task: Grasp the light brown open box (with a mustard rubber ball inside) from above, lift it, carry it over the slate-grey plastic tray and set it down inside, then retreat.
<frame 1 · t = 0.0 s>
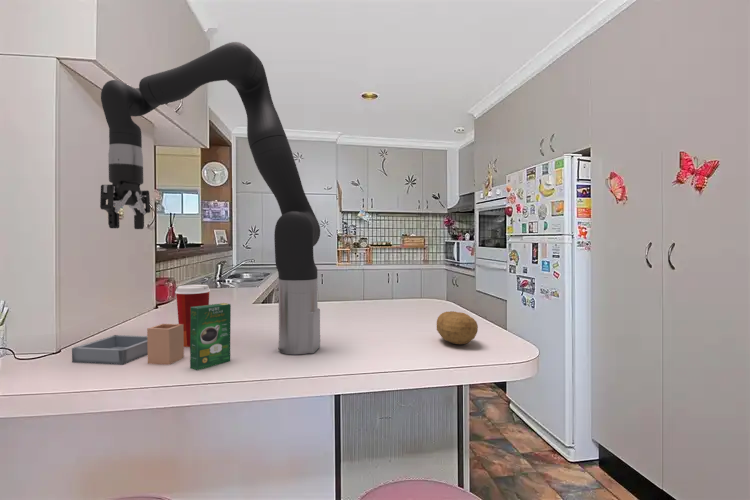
hand: (127, 228, 104), 29 cm above the countertop, tool pointing down, fingers open, 8 cm apart
coffee cup: (193, 346, 103), on the countertop
potato: (455, 343, 106), on the countertop
mustard ball: (166, 360, 89), point 1 cm above the countertop, touching light brown open box
light brown open box: (166, 363, 89), on the countertop, touching mustard ball
tray: (118, 357, 93), on the countertop
coffee box: (211, 367, 86), on the countertop
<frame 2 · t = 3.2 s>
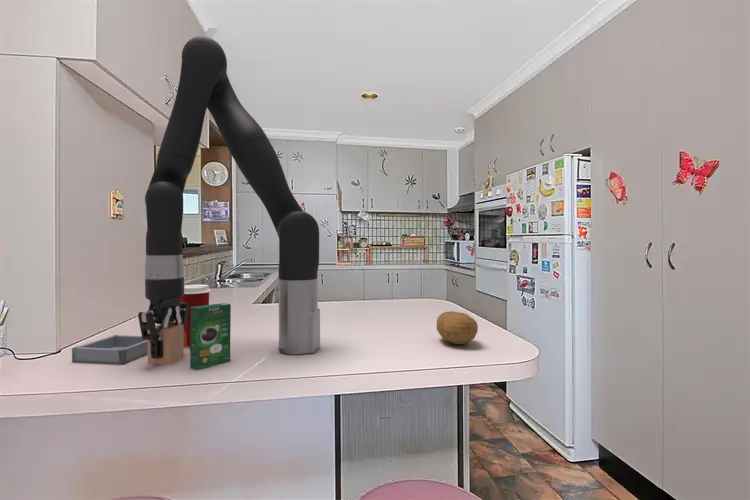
hand: (166, 353, 89), 2 cm above the countertop, tool pointing down, fingers closed on light brown open box, 5 cm apart
mustard ball: (166, 360, 89), point 1 cm above the countertop, tilted 14°, touching light brown open box
light brown open box: (166, 363, 89), on the countertop, touching gripper, mustard ball
everything else where it was.
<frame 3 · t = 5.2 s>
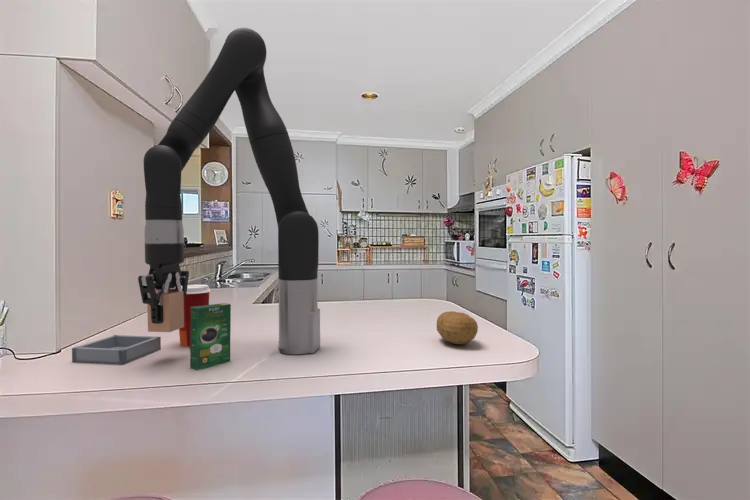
hand: (166, 320, 89), 9 cm above the countertop, tool pointing down, fingers closed on light brown open box, 5 cm apart
mustard ball: (166, 325, 89), point 8 cm above the countertop, tilted 25°, touching light brown open box
light brown open box: (166, 329, 89), point 7 cm above the countertop, touching gripper, mustard ball
everything else where it was.
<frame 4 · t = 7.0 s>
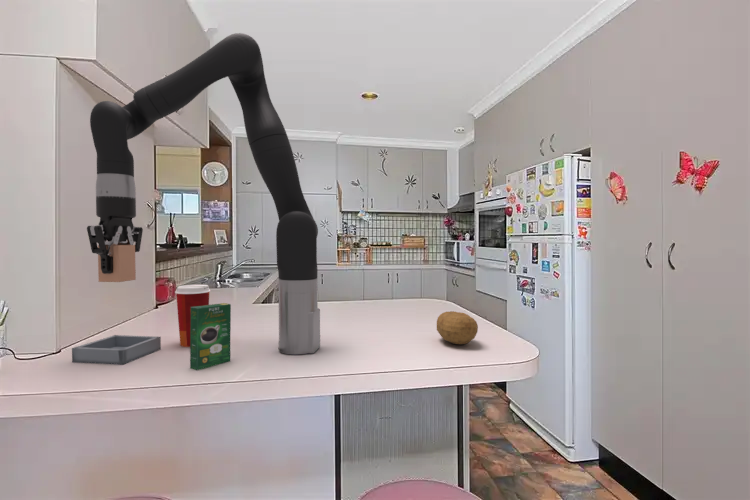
hand: (117, 272, 92), 19 cm above the countertop, tool pointing down, fingers closed on light brown open box, 5 cm apart
mustard ball: (117, 277, 92), point 18 cm above the countertop, tilted 22°, touching light brown open box
light brown open box: (117, 280, 92), point 17 cm above the countertop, touching gripper, mustard ball
everything else where it was.
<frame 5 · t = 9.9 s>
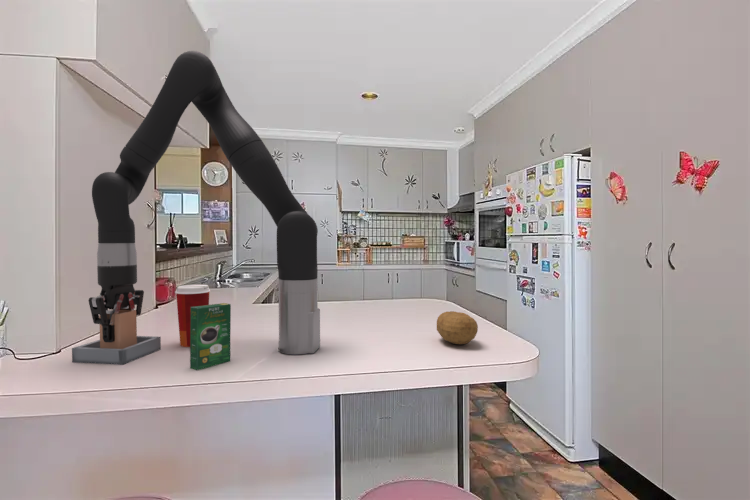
hand: (119, 338, 93), 4 cm above the countertop, tool pointing down, fingers closed on light brown open box, 5 cm apart
mustard ball: (118, 344, 93), point 3 cm above the countertop, tilted 15°, touching light brown open box
light brown open box: (118, 347, 93), point 2 cm above the countertop, touching gripper, mustard ball
everything else where it was.
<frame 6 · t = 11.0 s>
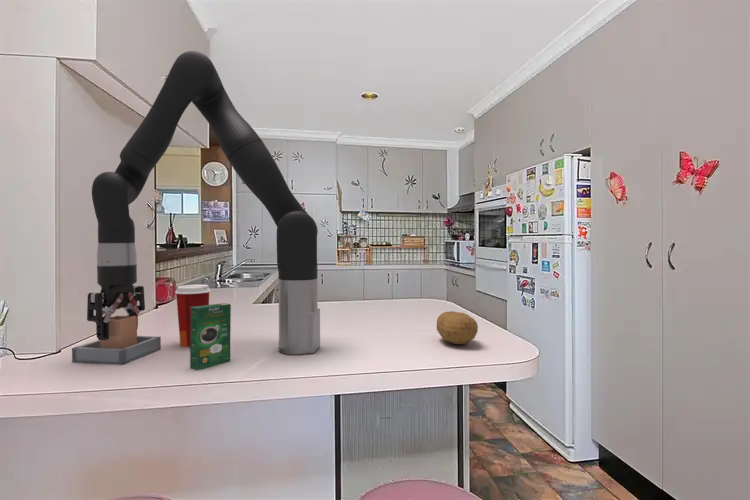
hand: (118, 335, 92), 5 cm above the countertop, tool pointing down, fingers open, 8 cm apart
mustard ball: (119, 350, 93), point 2 cm above the countertop, tilted 16°, touching light brown open box
light brown open box: (119, 353, 93), point 1 cm above the countertop, touching mustard ball, tray
everything else where it was.
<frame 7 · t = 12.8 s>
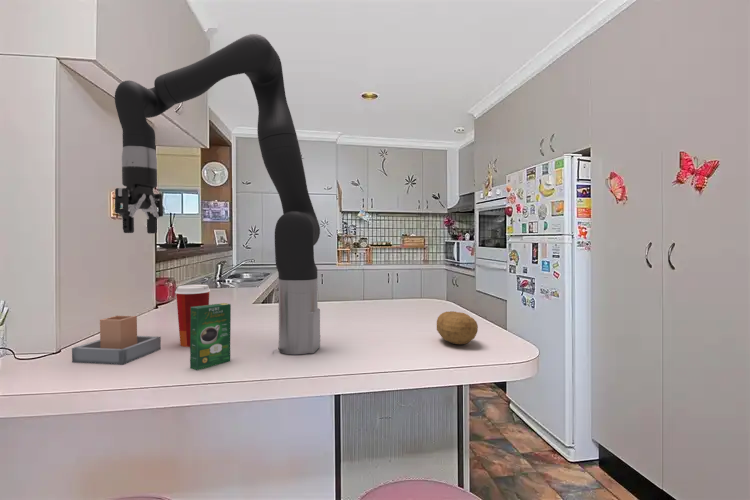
hand: (140, 233, 102), 28 cm above the countertop, tool pointing down, fingers open, 8 cm apart
mustard ball: (119, 350, 93), point 2 cm above the countertop, touching light brown open box
everything else where it was.
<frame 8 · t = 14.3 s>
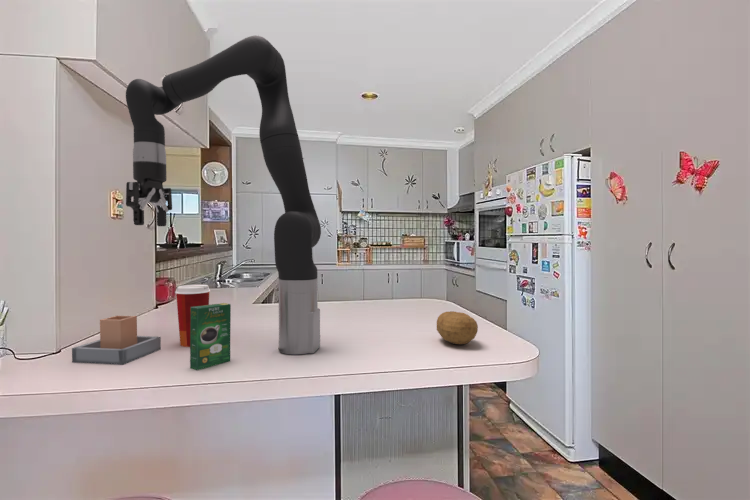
hand: (150, 225, 106), 30 cm above the countertop, tool pointing down, fingers open, 8 cm apart
mustard ball: (119, 350, 93), point 2 cm above the countertop, tilted 18°, touching light brown open box
everything else where it was.
at the end: light brown open box inside the target area on the tray (0.1 cm from its centre), point 1.0 cm above the tray's base; light brown open box tilted 0°; the gripper is holding nothing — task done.
